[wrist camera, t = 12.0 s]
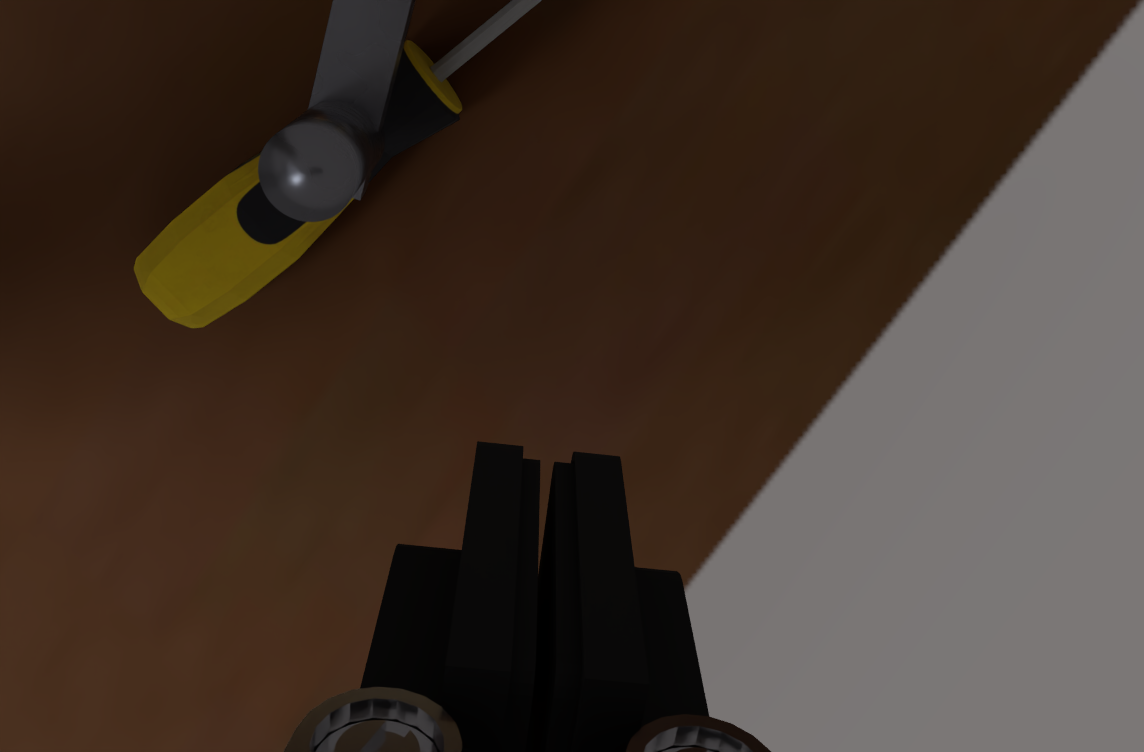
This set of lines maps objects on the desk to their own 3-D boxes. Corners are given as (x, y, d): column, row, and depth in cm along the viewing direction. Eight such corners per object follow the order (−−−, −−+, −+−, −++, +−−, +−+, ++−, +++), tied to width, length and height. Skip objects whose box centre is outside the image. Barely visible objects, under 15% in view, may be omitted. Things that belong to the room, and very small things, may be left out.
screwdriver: (184, 352, 35) (975, -279, 28) (107, 274, 33) (912, -401, 27) (213, 317, 38) (931, -257, 31) (144, 245, 37) (873, -366, 30)
